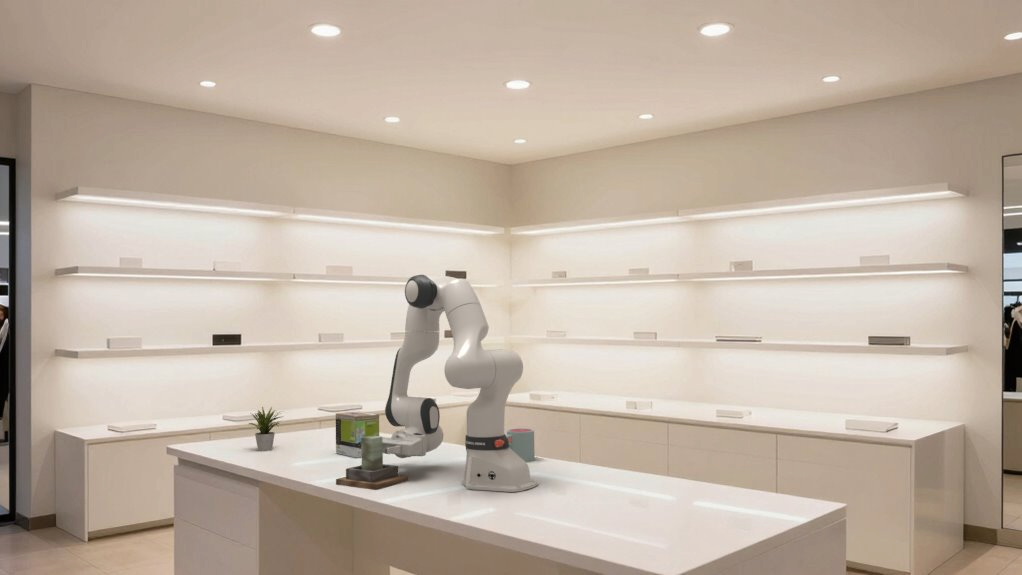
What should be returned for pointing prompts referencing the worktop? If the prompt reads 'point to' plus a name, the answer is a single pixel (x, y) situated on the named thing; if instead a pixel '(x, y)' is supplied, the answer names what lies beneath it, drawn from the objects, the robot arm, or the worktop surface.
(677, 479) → the worktop surface
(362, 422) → the tea box
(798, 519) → the worktop surface
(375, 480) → the display stand
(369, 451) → the green peg
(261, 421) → the house plant
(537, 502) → the worktop surface
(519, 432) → the mug
